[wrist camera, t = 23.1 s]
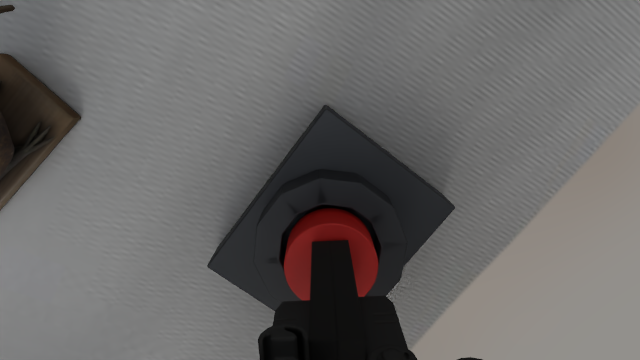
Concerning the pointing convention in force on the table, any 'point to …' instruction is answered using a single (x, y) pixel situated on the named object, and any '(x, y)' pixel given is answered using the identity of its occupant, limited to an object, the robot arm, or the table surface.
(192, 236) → the table surface
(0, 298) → the table surface
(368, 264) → the button
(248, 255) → the button box
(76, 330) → the table surface
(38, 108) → the figurine
